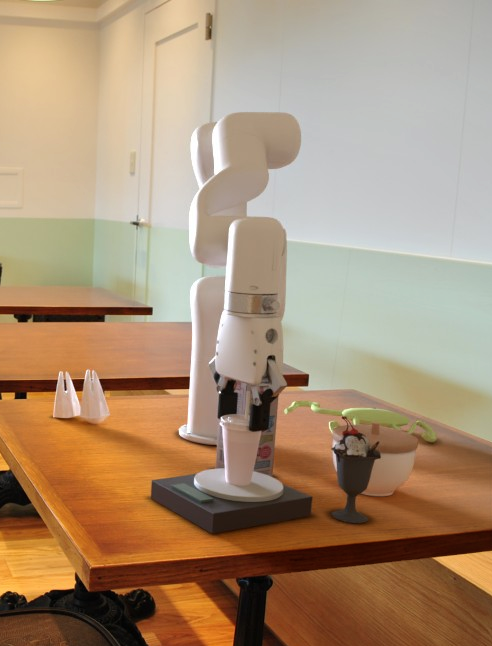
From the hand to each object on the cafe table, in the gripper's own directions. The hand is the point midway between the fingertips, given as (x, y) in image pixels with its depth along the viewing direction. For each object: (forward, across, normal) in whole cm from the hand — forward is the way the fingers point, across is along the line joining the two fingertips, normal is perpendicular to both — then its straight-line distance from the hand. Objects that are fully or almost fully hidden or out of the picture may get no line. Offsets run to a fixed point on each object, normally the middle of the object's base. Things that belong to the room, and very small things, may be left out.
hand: (242, 423), depth 124 cm
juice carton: (+13, +12, -12) cm, 21 cm away
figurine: (+13, +23, -50) cm, 56 cm away
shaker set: (+13, +52, -2) cm, 54 cm away
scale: (+13, 0, +2) cm, 13 cm away
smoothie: (+9, 0, 0) cm, 9 cm away
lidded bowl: (+13, -2, -26) cm, 29 cm away
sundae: (+13, -10, -12) cm, 21 cm away
